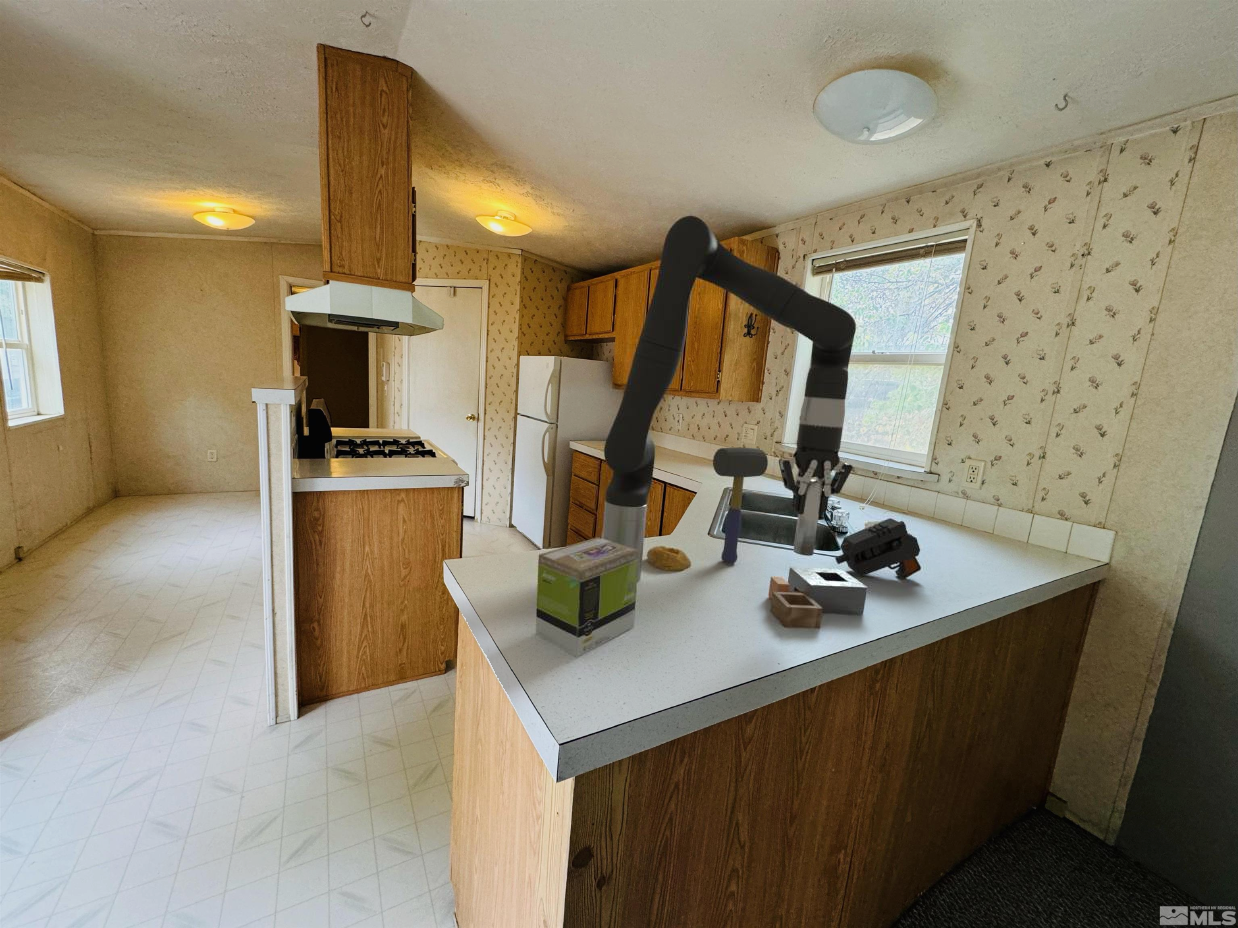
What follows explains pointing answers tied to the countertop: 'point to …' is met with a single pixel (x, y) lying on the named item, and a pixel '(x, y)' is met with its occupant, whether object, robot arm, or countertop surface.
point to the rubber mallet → (737, 488)
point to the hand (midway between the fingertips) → (808, 513)
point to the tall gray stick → (808, 519)
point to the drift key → (779, 586)
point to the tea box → (586, 594)
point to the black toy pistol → (881, 549)
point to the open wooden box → (796, 610)
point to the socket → (829, 589)
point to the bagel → (668, 558)
